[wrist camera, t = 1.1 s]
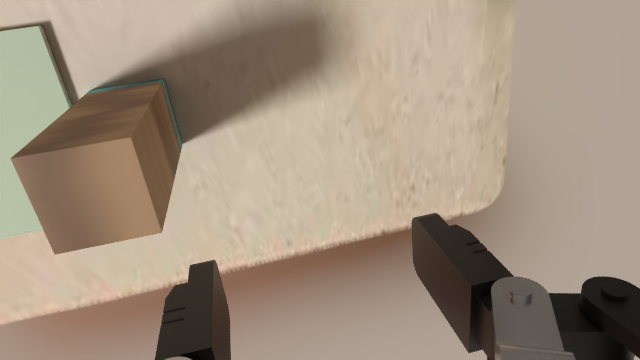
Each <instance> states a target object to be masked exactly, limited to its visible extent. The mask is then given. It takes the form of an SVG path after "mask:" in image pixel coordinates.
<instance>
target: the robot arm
mask: <svg viewBox="0 0 640 360" xmlns="http://www.w3.org/2000/svg"><path fill="white" fill-rule="evenodd" d="M412 246H413V262H414V267H415V270H416V272H417V275H418V277H419V278H420V280H421V281H422V283H423V284H424V286H425V287H426V289H427V290H428V292H429V293H430V295H431V297H432V298H433V300H434V301H435V303H436V304H437V306H438V307H439V309H440V310H441V312H442V313H443V314H444V316H445V318H446V319H447V321H448V322H449V324H450V325H451V327H452V328H453V330H454V331H455V333H456V334H457V336H458V337H459V339H460V340H461V342H462V343H463V345H464V347H465V348H466V349H467V351H468V353H471V352H475V351H479V350H482V349H483V351H484V352H485V354H486V355H487V360H634V356H635V355H636V356H637V357H639V358H640V289H639V288H638V287H636V286H634V285H632V284H631V283H629V282H627V281H624V280H621V279H617V278H613V277H593V278H590V279H588V280H586V281H585V282H584V283H583V285H582V290H581V294H567V293H565V294H564V293H548V292H547V290H546V289H545V288H544V287H542V286H541V285H540V284H538V283H537V282H535V281H532V280H530V279H527V278H523V277H514V276H513V275H512V274H511V273H510V272H509V271H508V270H507V269H506V268H505V267H504V266H503V265H502V264H501V263H500V262H499V261H498V260H497V259H496V258H495V257H494V256H493V254H492V253H491V252H489V251H487V248H486V247H485V246H484V245H483V244H482V243H480V242H479V240H478V239H477V238H476V237H475V236H474V235H473V234H472V233H471V232H470V231H468V230H466V229H464V228H462V227H460V226H458V225H452V226H449V225H448V224H447V223H446V222H445V221H444V220H443V219H442V218H441V217H440V216H439V215H438V214H437V213H433V214H428V215H424V216H419V217H414V218H413V219H412ZM163 313H164V314H163V316H162V322H161V323H162V325H161V328H160V334H159V339H158V345H157V351H156V357H155V360H231V352H230V317H229V309H228V304H227V300H226V296H225V292H224V289H223V285H222V281H221V277H220V273H219V270H218V266H217V263H216V261H215V260H212V261H207V262H202V263H198V264H193V265H190V268H189V277H188V283H184V284H180V285H175V286H174V287H173V289H172V290H171V292H170V293H169V295H168V296H167V297H166V300H165V306H164V311H163Z"/></svg>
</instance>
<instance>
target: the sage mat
mask: <svg viewBox="0 0 640 360" xmlns="http://www.w3.org/2000/svg"><path fill="white" fill-rule="evenodd" d="M71 106H72V105H71V102H70V99H69V97H68V94H67V91H66V89H65V86H64V83H63V81H62V78H61V75H60V73H59V70H58V67H57V65H56V62H55V59H54V57H53V54H52V51H51V49H50V46H49V43H48V41H47V38H46V35H45V33H44V30H43V27H42V25H40V26H33V27H25V28H18V29H11V30H4V31H0V239H2V238H8V237H13V236H18V235H23V234H28V233H33V232H38V231H43V228H42V226H41V224H40V221H39V219H38V217H37V215H36V213H35V211H34V209H33V206H32V204H31V202H30V200H29V198H28V196H27V193H26V191H25V189H24V187H23V185H22V183H21V180H20V178H19V176H18V174H17V172H16V170H15V168H14V165H13V163H12V161H11V159H10V158H12V157H13V156H14V155H15V154H16V153H17V152H19V151H20V150H21V149H22V148H23V147H24V146H26V145H27V144H28V143H29V142H30V141H31V140H33V139H34V138H35V137H36V136H37V135H38V134H40V133H41V132H42V131H43V130H44V129H46V128H47V127H48V126H49V125H50V124H51V123H53V122H54V121H55V120H56V119H57V118H58V117H60V116H61V115H62V114H63V113H64V112H65V111H67V110H68V109H69V108H70V107H71Z"/></svg>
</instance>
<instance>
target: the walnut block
mask: <svg viewBox="0 0 640 360" xmlns="http://www.w3.org/2000/svg"><path fill="white" fill-rule="evenodd" d="M181 148H182V141H181V137H180V134H179V130H178V126H177V123H176V119H175V115H174V112H173V108H172V105H171V101H170V97H169V94H168V90H167V86H166V83H165V79H164V78H163V79H157V80H151V81H144V82H138V83H132V84H126V85H119V86H113V87H107V88H101V89H95V90H90V91H89V92H88V93H87V94H85V95H84V96H83V97H82V98H81V99H80V100H78V101H77V102H76V103H75V104H74V105H72V106H71V107H70V108H69V109H68V110H67V111H65V112H64V113H63V114H62V115H61V116H60V117H58V118H57V119H56V120H55V121H54V122H53V123H51V124H50V125H49V126H48V127H47V128H46V129H44V130H43V131H42V132H41V133H40V134H38V135H37V136H36V137H35V138H34V139H33V140H31V141H30V142H29V143H28V144H27V145H26V146H24V147H23V148H22V149H21V150H20V151H19V152H17V153H16V154H15V155H14V156H13V157H12V158H10V159H11V161H12V163H13V165H14V168H15V170H16V172H17V174H18V176H19V178H20V180H21V183H22V185H23V187H24V189H25V191H26V193H27V196H28V198H29V200H30V202H31V204H32V206H33V209H34V211H35V213H36V215H37V217H38V219H39V221H40V224H41V226H42V228H43V230H44V232H45V234H46V237H47V239H48V241H49V243H50V245H51V247H52V250H53V252H54V254H60V253H65V252H70V251H75V250H79V249H84V248H89V247H94V246H99V245H104V244H109V243H114V242H118V241H123V240H128V239H133V238H138V237H143V236H148V235H153V234H157V233H162V230H163V226H164V221H165V217H166V213H167V208H168V204H169V200H170V195H171V191H172V187H173V183H174V178H175V174H176V170H177V165H178V161H179V157H180V152H181Z"/></svg>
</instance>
